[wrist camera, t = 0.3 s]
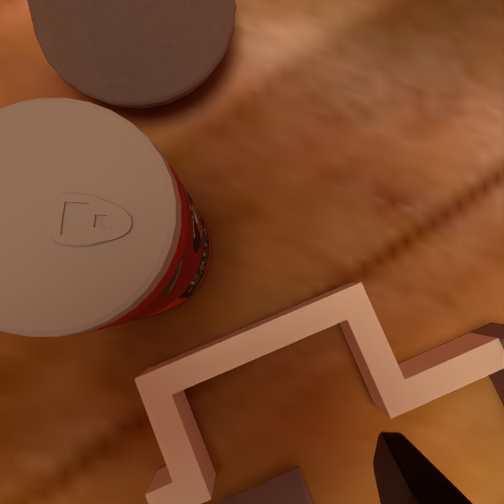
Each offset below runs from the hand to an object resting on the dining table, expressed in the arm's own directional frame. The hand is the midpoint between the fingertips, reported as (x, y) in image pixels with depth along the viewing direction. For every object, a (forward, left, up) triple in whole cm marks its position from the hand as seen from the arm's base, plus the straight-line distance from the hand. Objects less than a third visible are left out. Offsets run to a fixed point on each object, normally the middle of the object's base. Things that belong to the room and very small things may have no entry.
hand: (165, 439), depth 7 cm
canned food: (+7, +2, -14) cm, 16 cm away
